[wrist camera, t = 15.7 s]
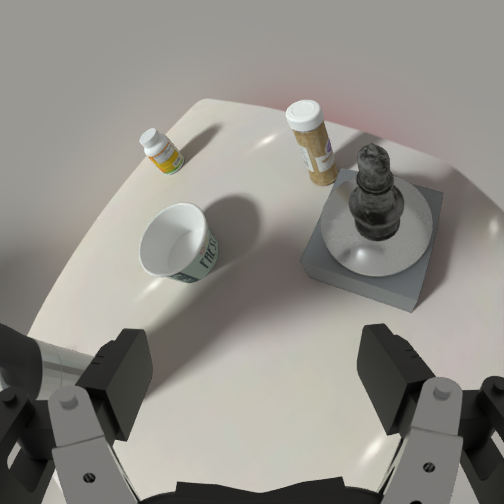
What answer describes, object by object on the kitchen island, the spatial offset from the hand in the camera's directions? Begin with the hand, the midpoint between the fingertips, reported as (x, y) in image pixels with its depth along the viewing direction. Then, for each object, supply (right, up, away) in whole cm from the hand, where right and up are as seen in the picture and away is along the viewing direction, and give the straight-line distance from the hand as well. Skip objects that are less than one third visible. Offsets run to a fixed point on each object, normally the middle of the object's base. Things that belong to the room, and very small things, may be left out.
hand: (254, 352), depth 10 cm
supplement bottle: (-16, +21, +50) cm, 57 cm away
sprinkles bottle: (+11, +15, +35) cm, 40 cm away
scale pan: (+15, +6, +23) cm, 28 cm away
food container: (-9, +3, +38) cm, 39 cm away
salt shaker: (+14, +7, +21) cm, 26 cm away
